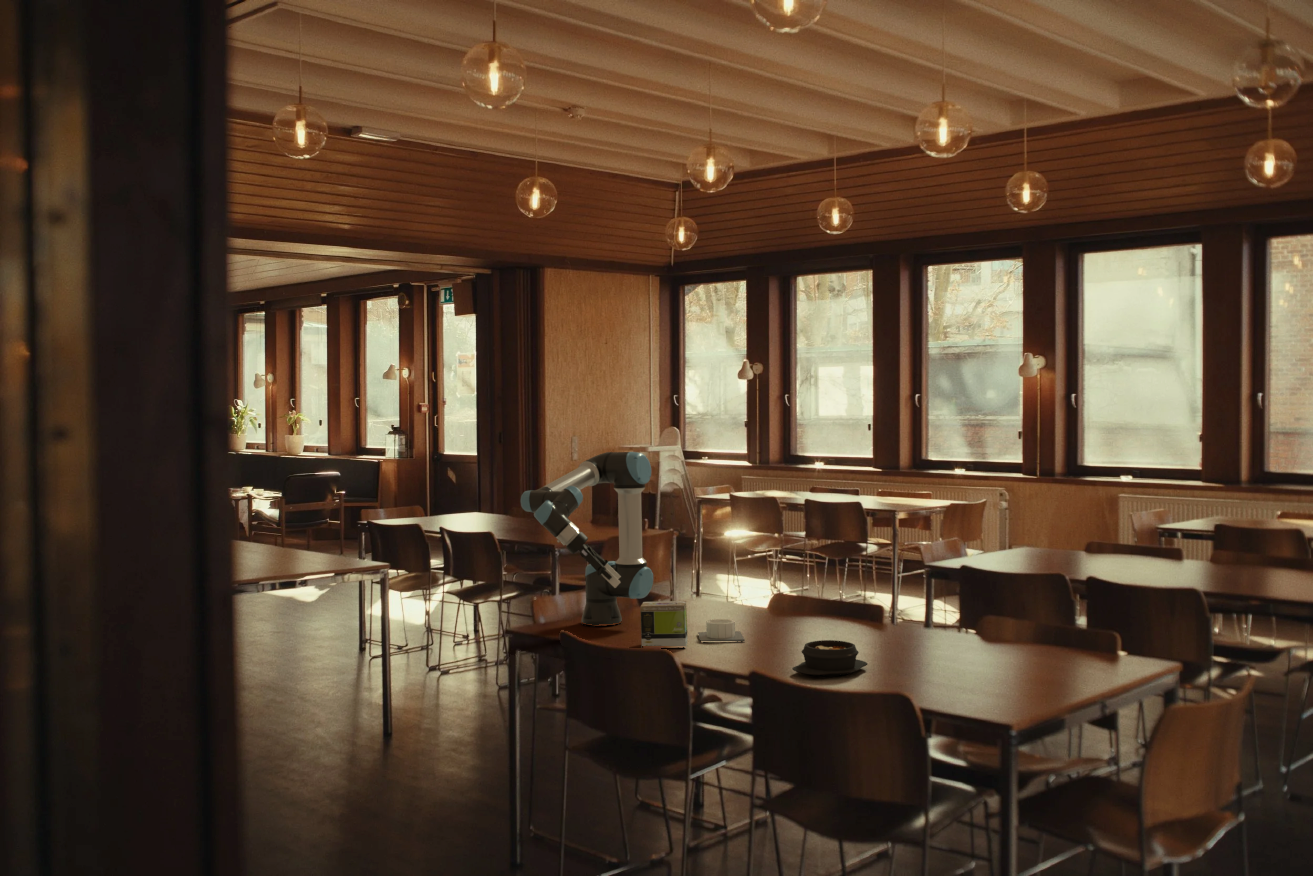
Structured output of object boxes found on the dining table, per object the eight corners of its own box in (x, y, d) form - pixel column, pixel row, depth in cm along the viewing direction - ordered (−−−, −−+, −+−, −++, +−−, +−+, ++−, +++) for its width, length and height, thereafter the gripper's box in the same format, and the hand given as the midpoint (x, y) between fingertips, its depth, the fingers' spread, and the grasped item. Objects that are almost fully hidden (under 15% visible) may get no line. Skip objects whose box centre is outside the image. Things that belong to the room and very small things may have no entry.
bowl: (697, 635, 404) (697, 618, 404) (740, 634, 404) (739, 617, 404) (700, 643, 389) (700, 625, 389) (744, 642, 389) (744, 624, 389)
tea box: (687, 643, 389) (687, 600, 389) (685, 649, 379) (684, 605, 379) (644, 643, 391) (643, 600, 391) (640, 649, 381) (639, 605, 381)
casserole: (823, 684, 327) (822, 655, 326) (778, 673, 341) (777, 645, 341) (882, 671, 342) (881, 643, 342) (836, 661, 357) (836, 635, 356)
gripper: (566, 542, 396) (610, 584, 396) (562, 550, 371) (609, 596, 371) (581, 527, 396) (625, 569, 396) (578, 534, 371) (625, 579, 372)
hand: (618, 582), depth 384 cm, fingers open, 13 cm apart
